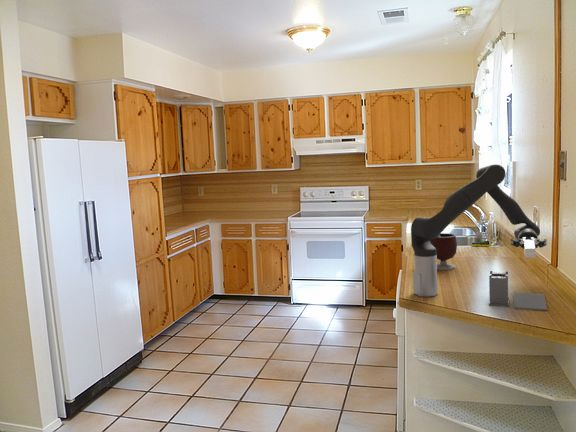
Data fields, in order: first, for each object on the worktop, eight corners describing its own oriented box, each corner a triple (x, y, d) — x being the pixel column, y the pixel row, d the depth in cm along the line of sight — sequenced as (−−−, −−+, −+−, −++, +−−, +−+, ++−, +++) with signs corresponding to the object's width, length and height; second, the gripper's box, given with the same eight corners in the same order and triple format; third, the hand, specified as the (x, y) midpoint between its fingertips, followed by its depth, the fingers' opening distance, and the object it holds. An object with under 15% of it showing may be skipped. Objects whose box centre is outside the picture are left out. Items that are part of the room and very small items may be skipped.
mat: (514, 293, 206) (514, 292, 206) (543, 295, 202) (543, 294, 202) (514, 308, 187) (514, 307, 187) (547, 310, 183) (547, 309, 183)
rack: (490, 297, 203) (489, 269, 202) (508, 299, 200) (508, 270, 199) (488, 305, 193) (488, 275, 192) (508, 306, 190) (508, 276, 189)
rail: (523, 248, 202) (523, 239, 201) (533, 248, 200) (533, 239, 200) (524, 257, 185) (524, 248, 185) (535, 257, 184) (535, 248, 183)
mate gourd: (438, 263, 272) (437, 227, 270) (462, 266, 262) (461, 228, 260) (423, 268, 261) (422, 231, 259) (447, 271, 251) (446, 232, 249)
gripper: (509, 230, 213) (509, 236, 198) (546, 230, 207) (549, 237, 192) (509, 247, 214) (509, 255, 198) (546, 247, 208) (549, 256, 193)
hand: (529, 246), depth 195 cm, fingers closed on rail, 3 cm apart
